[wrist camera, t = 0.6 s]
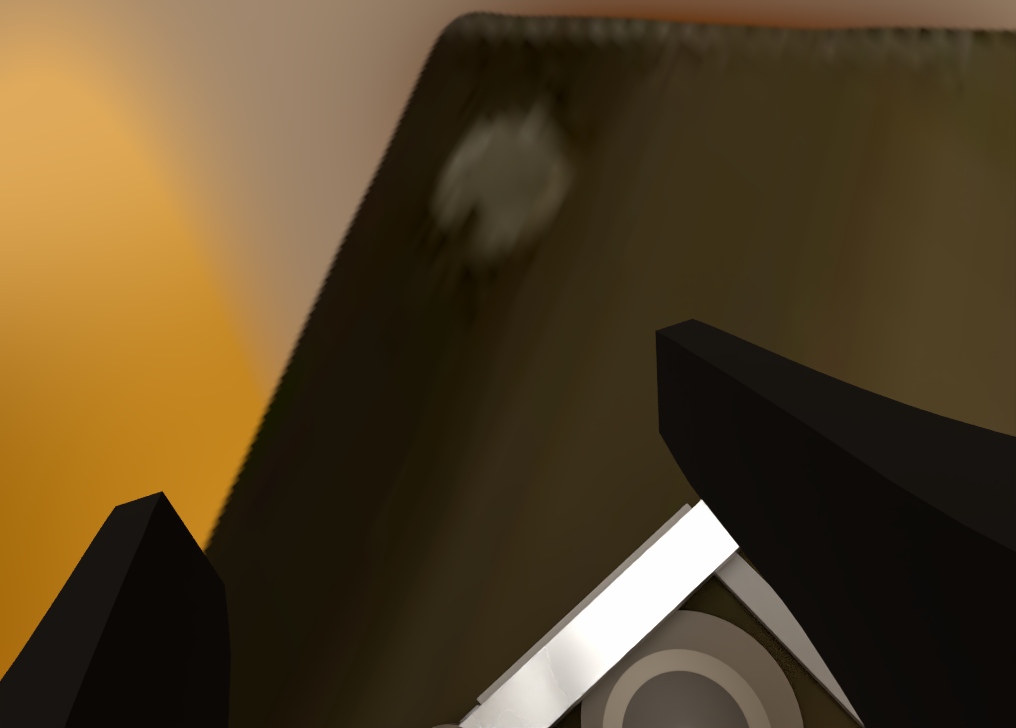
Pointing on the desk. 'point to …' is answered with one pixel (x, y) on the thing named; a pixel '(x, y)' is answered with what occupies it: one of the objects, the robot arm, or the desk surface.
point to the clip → (610, 626)
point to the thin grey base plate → (470, 713)
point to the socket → (745, 589)
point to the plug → (694, 681)
